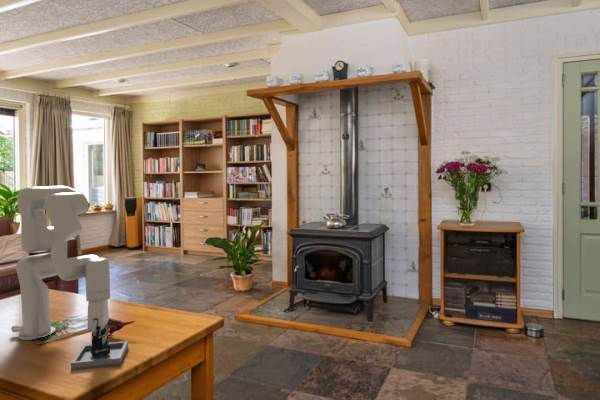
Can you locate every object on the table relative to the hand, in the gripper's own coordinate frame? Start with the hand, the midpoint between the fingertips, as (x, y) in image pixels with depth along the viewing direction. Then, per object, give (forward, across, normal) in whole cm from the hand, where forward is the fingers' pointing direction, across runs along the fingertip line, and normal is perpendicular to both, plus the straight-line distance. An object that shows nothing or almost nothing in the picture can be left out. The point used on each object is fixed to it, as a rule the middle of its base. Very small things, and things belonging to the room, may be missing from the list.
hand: (100, 344), depth 149 cm
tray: (+5, 0, 0) cm, 5 cm away
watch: (+3, 0, 0) cm, 3 cm away
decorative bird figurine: (+5, -20, 0) cm, 20 cm away
